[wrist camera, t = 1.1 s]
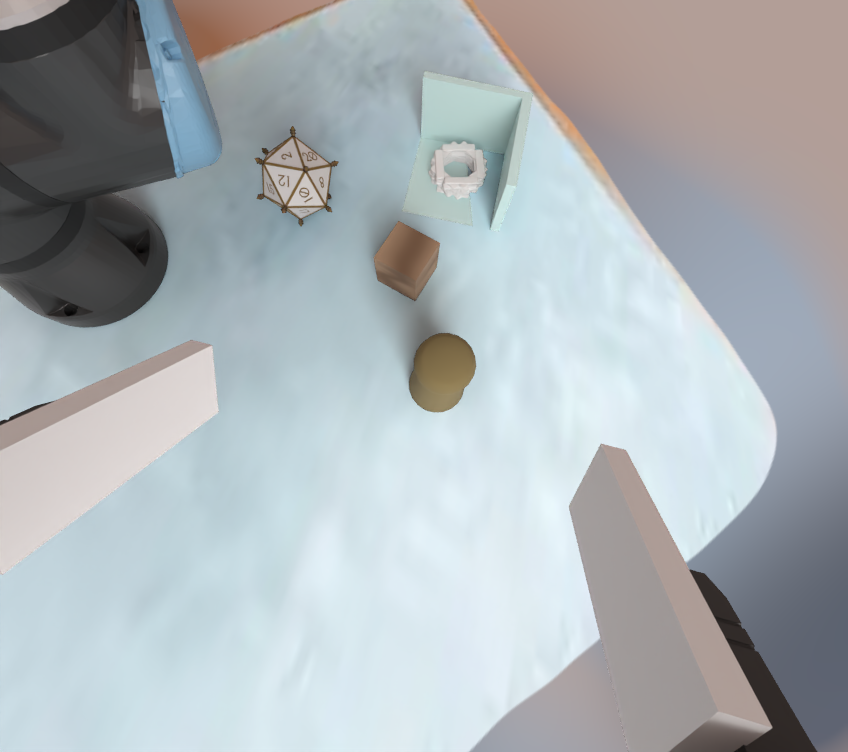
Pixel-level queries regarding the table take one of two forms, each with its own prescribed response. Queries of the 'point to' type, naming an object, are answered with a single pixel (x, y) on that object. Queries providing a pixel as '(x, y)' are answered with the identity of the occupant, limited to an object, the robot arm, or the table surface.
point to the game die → (296, 178)
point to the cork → (441, 372)
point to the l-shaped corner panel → (465, 146)
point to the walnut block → (406, 260)
